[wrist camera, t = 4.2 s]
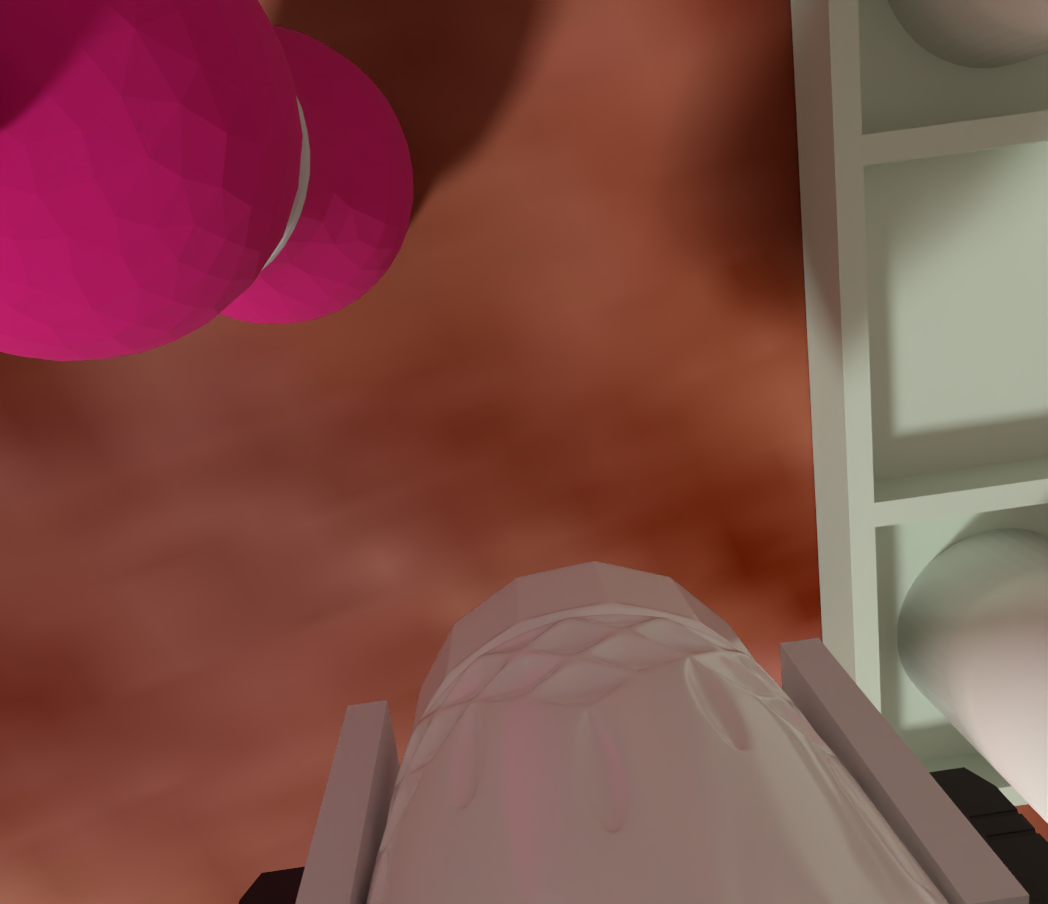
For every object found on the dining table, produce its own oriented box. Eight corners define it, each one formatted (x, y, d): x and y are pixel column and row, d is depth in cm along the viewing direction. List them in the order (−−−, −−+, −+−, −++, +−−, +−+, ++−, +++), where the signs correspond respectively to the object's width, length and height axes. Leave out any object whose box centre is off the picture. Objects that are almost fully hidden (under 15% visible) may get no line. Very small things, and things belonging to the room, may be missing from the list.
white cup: (751, 491, 16) (1144, 882, 7) (800, 834, 18) (1154, 1509, 9) (345, 578, 16) (155, 1091, 7) (439, 911, 18) (400, 1665, 9)
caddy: (777, -257, 24) (815, -320, 21) (1185, -309, 24) (1274, -378, 22) (829, 778, 32) (861, 828, 29) (1134, 734, 32) (1194, 779, 30)
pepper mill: (471, 173, 26) (444, -7, 7) (331, 357, 28) (-28, 639, 8) (276, 8, 25) (-429, -781, 6) (136, 208, 26) (-848, 122, 7)
